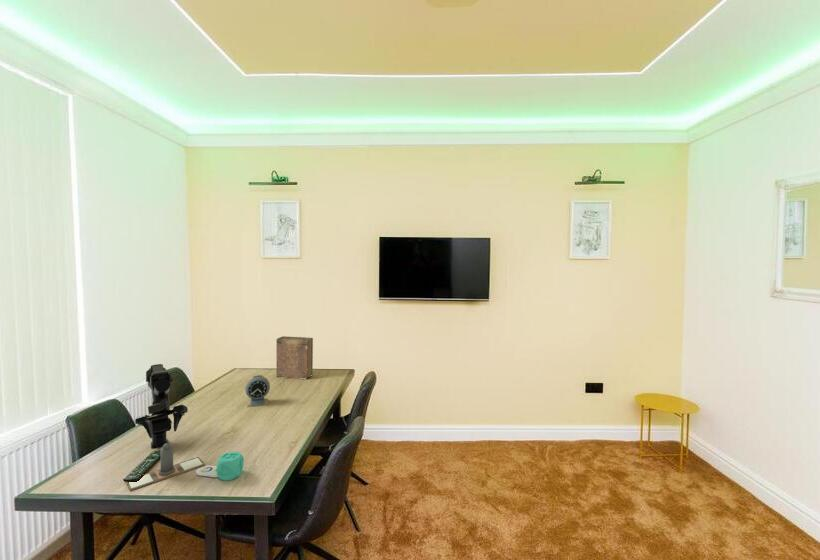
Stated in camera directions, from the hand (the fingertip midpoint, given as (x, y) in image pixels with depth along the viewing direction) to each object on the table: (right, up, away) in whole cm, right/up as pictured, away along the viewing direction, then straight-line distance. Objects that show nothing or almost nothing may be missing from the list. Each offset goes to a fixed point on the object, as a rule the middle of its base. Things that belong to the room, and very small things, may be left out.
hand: (163, 434), depth 161 cm
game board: (+6, -13, -7) cm, 16 cm away
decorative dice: (+33, -14, -7) cm, 36 cm away
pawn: (+6, -12, -7) cm, 16 cm away
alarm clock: (+12, -10, +71) cm, 73 cm away
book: (+18, -8, +126) cm, 128 cm away
